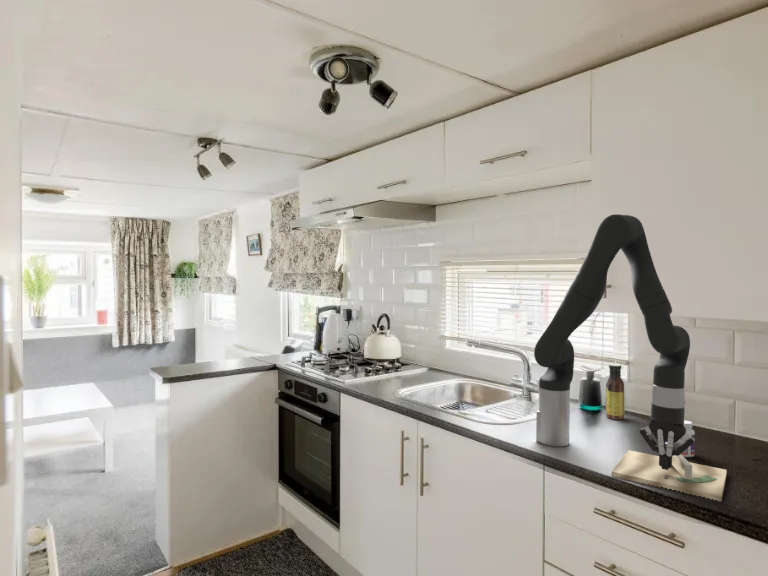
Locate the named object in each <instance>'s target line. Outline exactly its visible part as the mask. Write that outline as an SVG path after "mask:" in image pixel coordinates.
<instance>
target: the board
mask: <svg viewBox="0 0 768 576" xmlns="http://www.w3.org/2000/svg"><path fill="white" fill-rule="evenodd" d="M688 462H689V463H690V464H691V465H692V480H691V479H684V477H683V476H682V475H681V474H680V473H679V472H678V471H677V470H676V469H675V468H674V467H672V466H671V468H669V469H668V470H665V469H662V467H661V466H659V455H653V454H651V453H650V454H649V453H644V452H639V451H635V450H629V449H628V450H627V451H626V453H625V454H624V455H623V456H622V458H621V459H620V460H619V461H618V463H617V464H616V465H615V467H614V468H613V469H612V471H611V477H615V478H617V479H623V480H628V481H630V482H636V483H641V484H643V483H644V484H643V485H648V484H649V485H648V486H652V485H653V487H656V486H657V488H661V487H663V488H662V489H665V488H667V489H666V490H669V489H672V490H671V491H673V490H677V491H676V492H678V491H680V492H679V493H682V492H684V493H683V494H686V493H687V494H686V495H690V494H692V496H695V495H696V496H695V497H699V496H701V497H700V498H703V497H705V498H704V499H708V498H709V500H712V499H713V501H716V500H717V501H716V502H720V503H721V502H722V499H723V495H724V492H725V491H724V490H725V487H726V485H725V484H726V481H727V480H726V479H727V476H728V475H727V474H728V473H727V472H728V471H727V469H724V468H719V467H713V466H709V465H704V464H698V463H694V462H690V461H688Z"/></svg>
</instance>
